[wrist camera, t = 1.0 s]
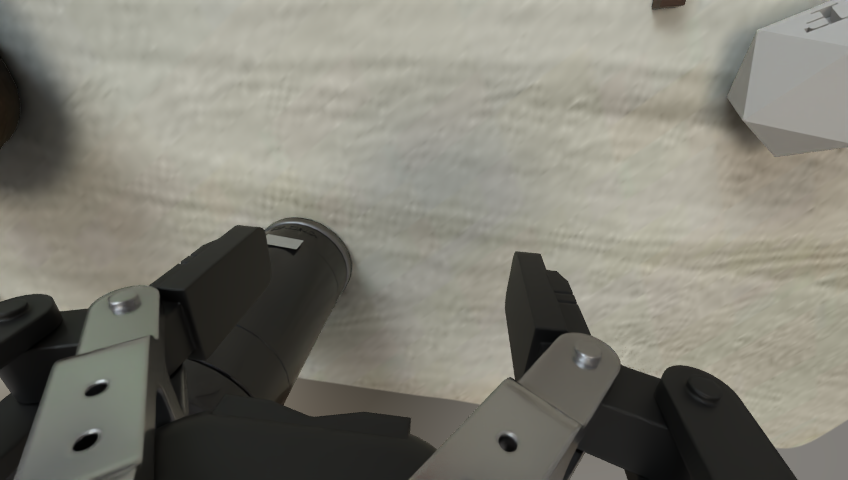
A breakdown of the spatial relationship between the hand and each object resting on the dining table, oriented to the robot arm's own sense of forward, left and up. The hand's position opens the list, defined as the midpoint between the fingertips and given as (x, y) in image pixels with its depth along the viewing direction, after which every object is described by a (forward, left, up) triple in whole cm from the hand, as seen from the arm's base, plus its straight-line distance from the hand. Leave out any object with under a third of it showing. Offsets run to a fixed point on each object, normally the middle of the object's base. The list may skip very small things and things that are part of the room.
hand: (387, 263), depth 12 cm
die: (+7, -23, -20) cm, 31 cm away
